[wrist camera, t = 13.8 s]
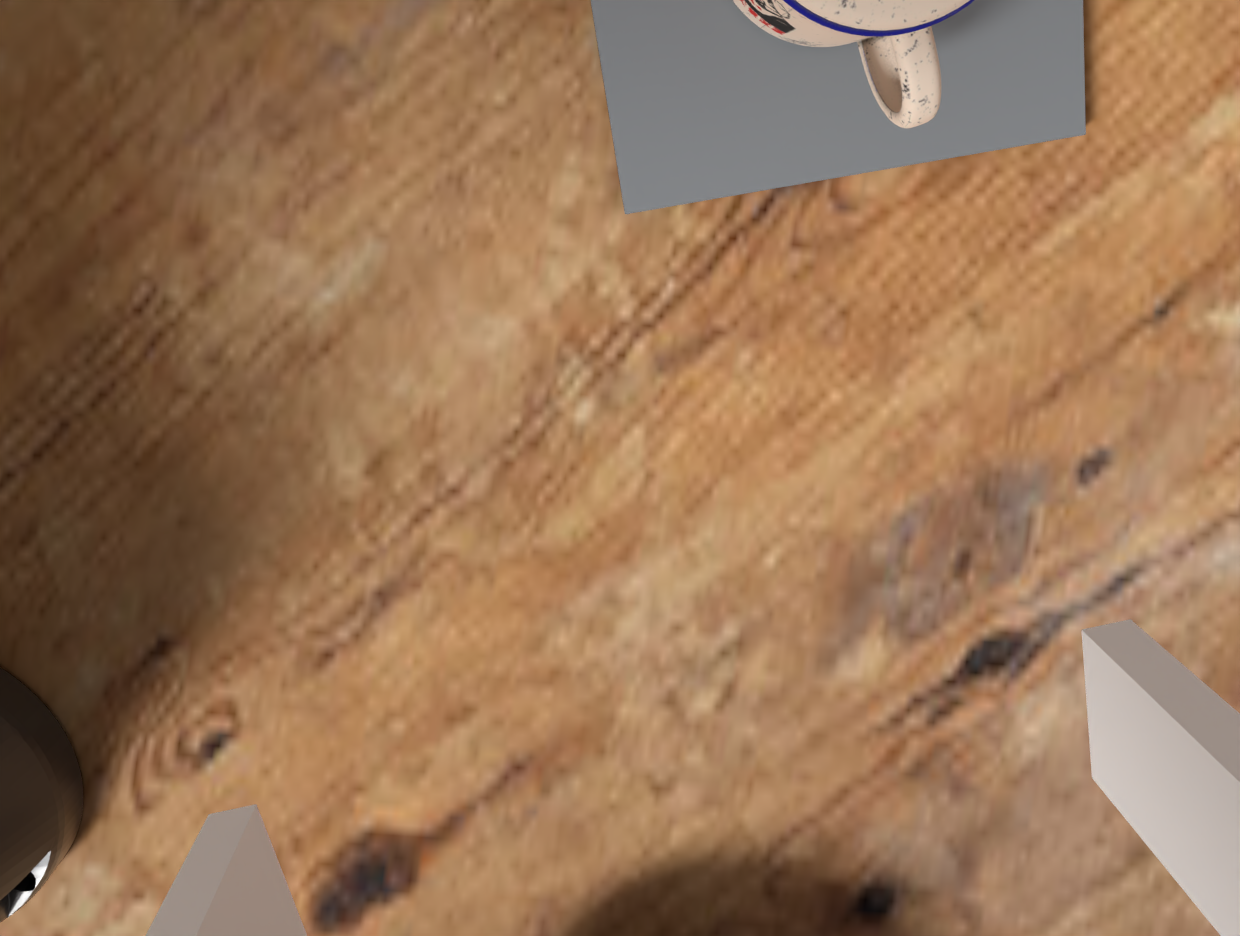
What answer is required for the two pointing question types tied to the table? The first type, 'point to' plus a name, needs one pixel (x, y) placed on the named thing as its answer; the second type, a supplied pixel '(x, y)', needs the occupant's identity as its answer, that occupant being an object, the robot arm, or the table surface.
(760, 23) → the teacup with lid
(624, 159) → the slate mat
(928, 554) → the table surface
